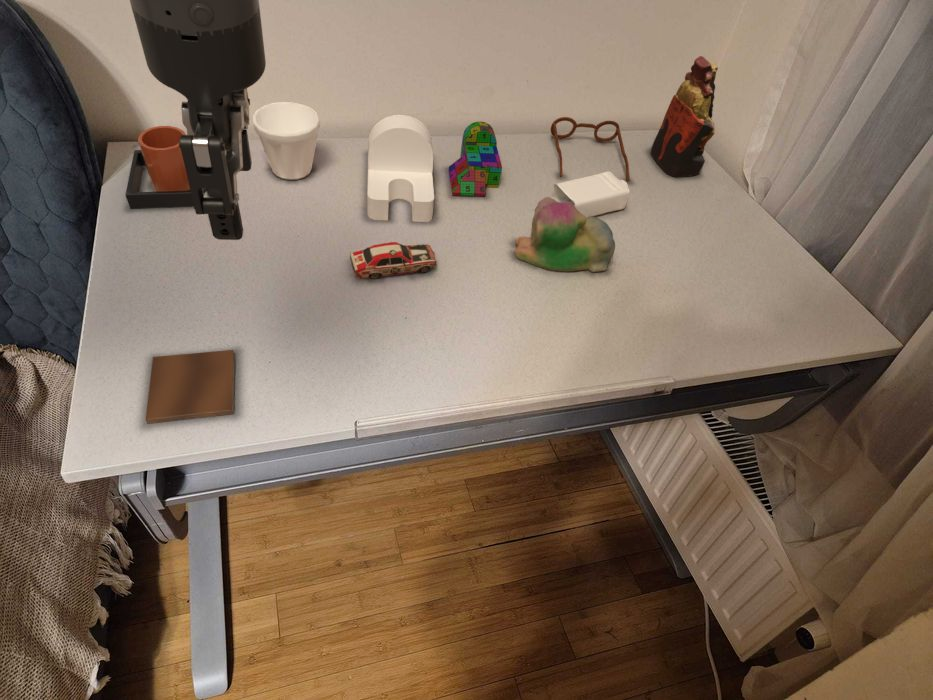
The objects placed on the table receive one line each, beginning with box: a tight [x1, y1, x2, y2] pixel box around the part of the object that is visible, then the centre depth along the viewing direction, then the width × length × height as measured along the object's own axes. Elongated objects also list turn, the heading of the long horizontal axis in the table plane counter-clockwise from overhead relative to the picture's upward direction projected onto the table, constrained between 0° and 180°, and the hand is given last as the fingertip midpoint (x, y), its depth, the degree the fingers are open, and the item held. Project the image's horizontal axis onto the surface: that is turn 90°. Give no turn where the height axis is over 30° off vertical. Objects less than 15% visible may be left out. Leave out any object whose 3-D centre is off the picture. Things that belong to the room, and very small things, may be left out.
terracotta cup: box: [137, 125, 190, 192], centre depth 91 cm, size 6×6×8 cm
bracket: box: [367, 114, 435, 223], centre depth 97 cm, size 19×10×11 cm, turn 5°
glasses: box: [550, 116, 631, 182], centre depth 111 cm, size 13×13×5 cm
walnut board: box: [144, 349, 235, 424], centre depth 71 cm, size 9×9×1 cm
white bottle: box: [549, 170, 631, 218], centre depth 102 cm, size 6×13×4 cm, turn 118°
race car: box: [349, 241, 437, 280], centre depth 87 cm, size 5×12×5 cm, turn 102°
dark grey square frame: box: [125, 149, 194, 210], centre depth 93 cm, size 12×12×2 cm
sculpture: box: [514, 196, 616, 273], centre depth 90 cm, size 15×8×10 cm, turn 104°
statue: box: [650, 55, 719, 178], centre depth 109 cm, size 12×8×20 cm, turn 12°
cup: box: [251, 101, 321, 181], centre depth 97 cm, size 10×10×9 cm
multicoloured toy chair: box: [447, 121, 503, 198], centre depth 103 cm, size 12×8×7 cm
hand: (234, 201), depth 51 cm, fingers open, 8 cm apart
